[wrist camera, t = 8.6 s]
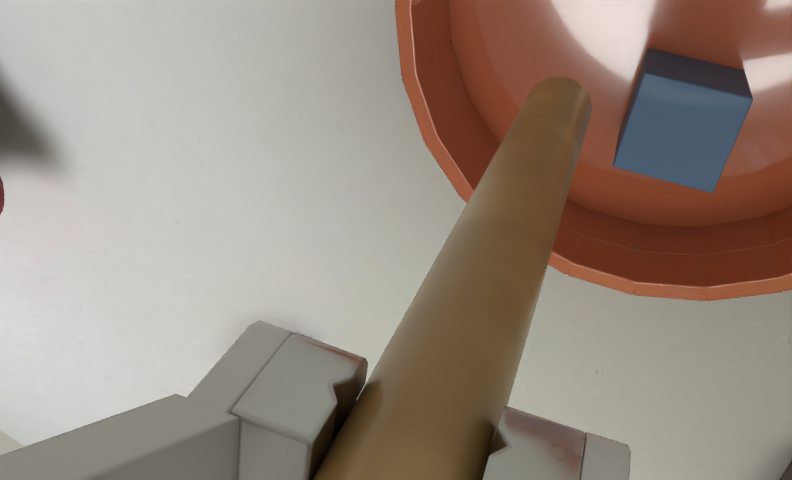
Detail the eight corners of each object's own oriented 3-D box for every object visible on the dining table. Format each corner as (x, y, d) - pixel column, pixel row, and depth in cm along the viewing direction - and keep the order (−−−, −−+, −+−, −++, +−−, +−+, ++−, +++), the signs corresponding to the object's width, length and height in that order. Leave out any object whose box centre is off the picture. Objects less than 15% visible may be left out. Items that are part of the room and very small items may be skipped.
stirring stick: (600, 84, 19) (368, 895, 4) (581, 145, 20) (336, 987, 5) (534, 68, 20) (114, 769, 5) (519, 129, 21) (126, 876, 6)
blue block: (745, 70, 30) (754, 98, 27) (709, 157, 32) (713, 194, 29) (647, 46, 31) (643, 72, 27) (618, 134, 33) (612, 166, 30)
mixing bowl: (1167, -273, 22) (1308, -305, 17) (841, 289, 33) (870, 368, 28) (495, -360, 27) (454, -406, 22) (404, 164, 38) (363, 213, 33)
